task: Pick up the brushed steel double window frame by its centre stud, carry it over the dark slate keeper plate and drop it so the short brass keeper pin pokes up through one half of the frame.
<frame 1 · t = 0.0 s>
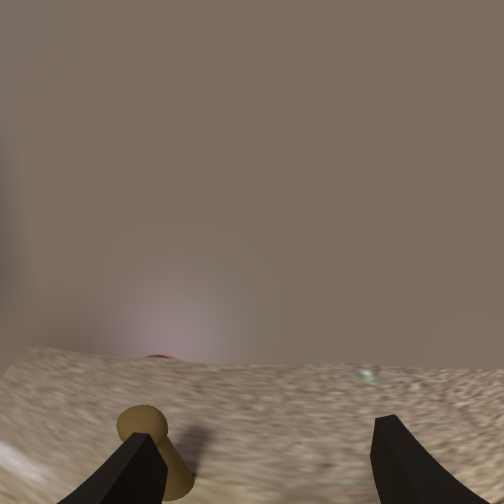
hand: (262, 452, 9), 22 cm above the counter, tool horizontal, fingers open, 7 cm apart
cork: (169, 483, 29), on the counter
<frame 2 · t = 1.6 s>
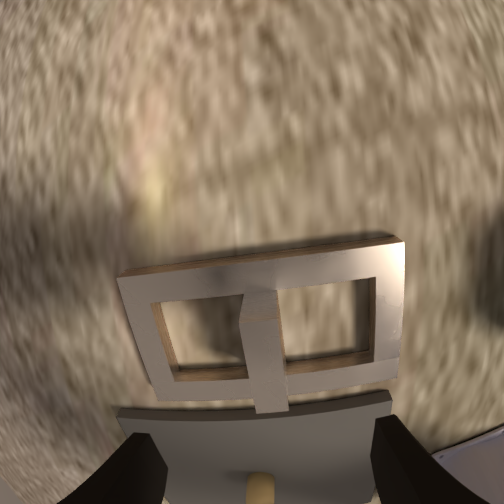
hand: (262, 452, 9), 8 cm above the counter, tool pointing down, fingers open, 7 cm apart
double window frame: (267, 325, 17), on the counter
keeper plate: (261, 468, 21), on the counter
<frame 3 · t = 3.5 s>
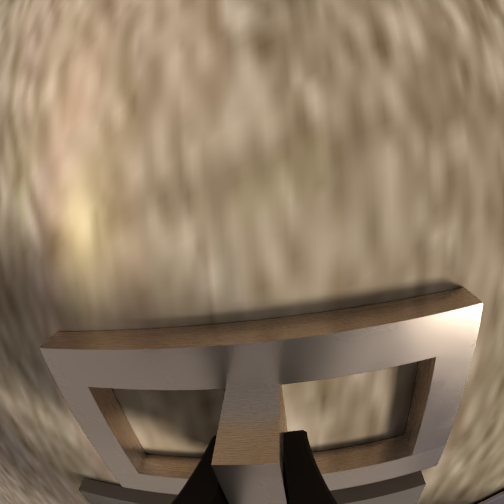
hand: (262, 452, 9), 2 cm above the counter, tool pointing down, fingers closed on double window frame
double window frame: (264, 416, 10), on the counter, touching gripper
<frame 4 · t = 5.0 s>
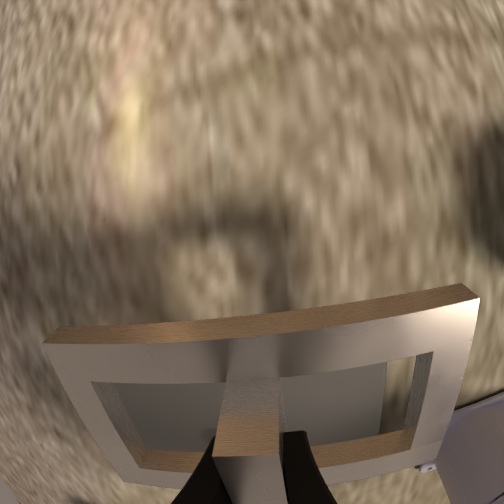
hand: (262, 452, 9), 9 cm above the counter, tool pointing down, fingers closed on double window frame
double window frame: (263, 410, 11), point 7 cm above the counter, touching gripper
keeper plate: (246, 430, 20), on the counter
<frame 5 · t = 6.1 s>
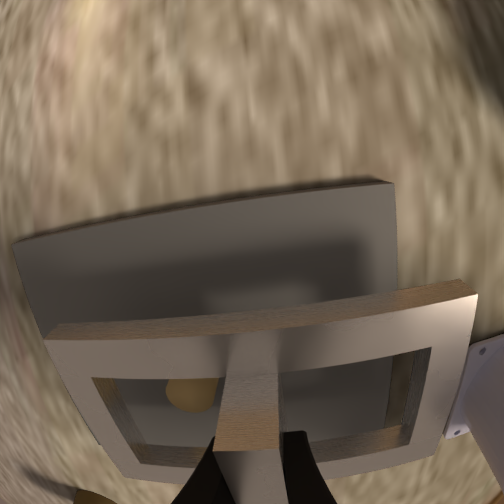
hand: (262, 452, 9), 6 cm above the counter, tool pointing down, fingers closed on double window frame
double window frame: (263, 405, 11), point 4 cm above the counter, touching gripper
keeper plate: (203, 352, 15), on the counter
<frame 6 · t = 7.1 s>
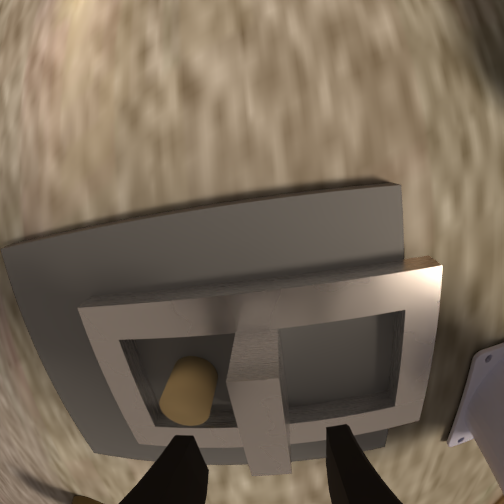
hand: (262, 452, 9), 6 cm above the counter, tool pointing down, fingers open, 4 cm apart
double window frame: (265, 366, 13), point 1 cm above the counter, touching keeper plate
keeper plate: (199, 361, 14), on the counter
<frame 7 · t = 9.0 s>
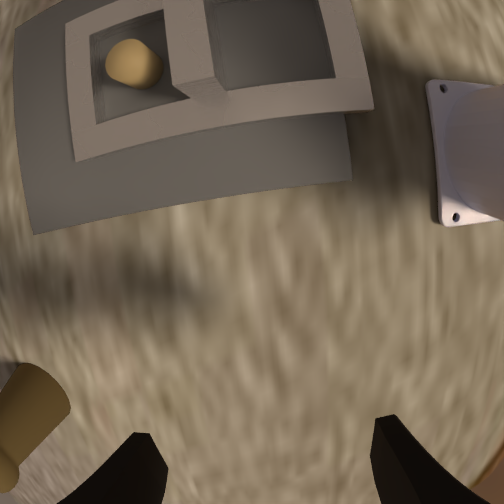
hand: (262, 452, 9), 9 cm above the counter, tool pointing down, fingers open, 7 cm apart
cork: (43, 390, 22), on the counter
double window frame: (205, 51, 13), point 1 cm above the counter, touching keeper plate
keeper plate: (151, 74, 14), on the counter
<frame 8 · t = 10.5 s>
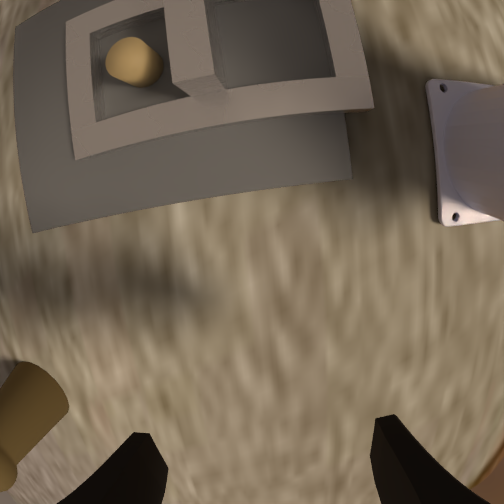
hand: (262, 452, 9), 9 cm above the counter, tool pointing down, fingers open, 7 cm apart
cork: (41, 389, 21), on the counter
double window frame: (205, 50, 13), point 1 cm above the counter, touching keeper plate
keeper plate: (151, 73, 14), on the counter
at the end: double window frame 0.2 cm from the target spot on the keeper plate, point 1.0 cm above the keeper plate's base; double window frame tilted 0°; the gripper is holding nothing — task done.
